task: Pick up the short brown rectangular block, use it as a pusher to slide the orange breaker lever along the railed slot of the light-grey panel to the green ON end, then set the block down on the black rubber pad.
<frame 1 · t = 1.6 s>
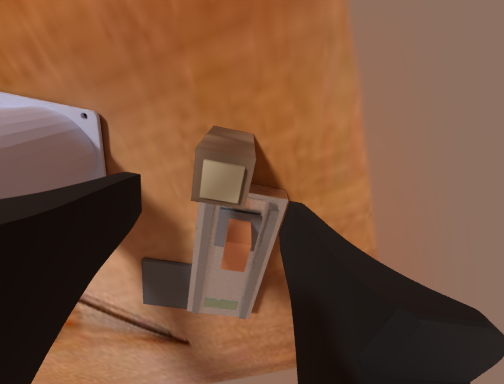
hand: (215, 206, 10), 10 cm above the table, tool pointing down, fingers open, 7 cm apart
brown rectangular block: (230, 149, 19), on the table
breaker lever: (236, 242, 19), point 4 cm above the table, slide at 0.0 cm
breaker panel: (231, 251, 25), on the table
rubber pad: (172, 284, 27), on the table
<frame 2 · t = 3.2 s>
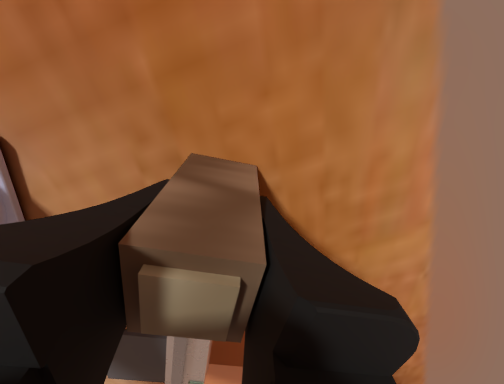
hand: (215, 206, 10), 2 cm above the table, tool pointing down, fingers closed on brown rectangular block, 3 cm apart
brown rectangular block: (220, 188, 12), on the table, touching gripper
breaker lever: (229, 339, 12), point 4 cm above the table, slide at 0.0 cm
breaker panel: (224, 319, 18), on the table
rubber pad: (145, 355, 20), on the table
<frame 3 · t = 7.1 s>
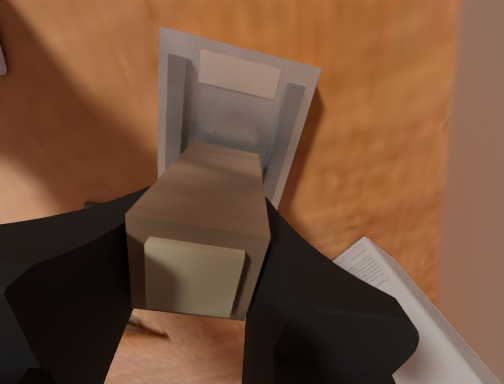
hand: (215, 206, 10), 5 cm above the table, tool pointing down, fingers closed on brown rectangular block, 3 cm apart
brown rectangular block: (222, 176, 12), point 3 cm above the table, touching breaker lever, gripper
skincare box: (351, 261, 20), on the table
breaker panel: (221, 191, 16), on the table
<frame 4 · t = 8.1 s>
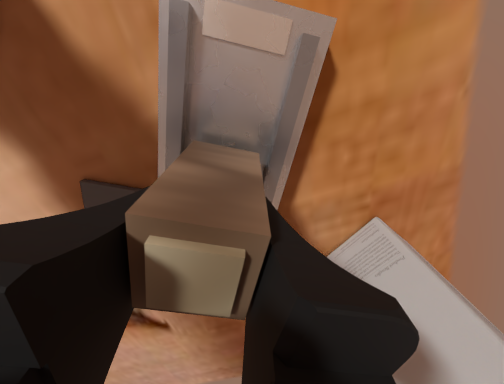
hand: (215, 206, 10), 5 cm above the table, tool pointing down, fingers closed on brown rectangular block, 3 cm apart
brown rectangular block: (222, 176, 12), point 3 cm above the table, touching breaker lever, gripper
skincare box: (361, 244, 19), on the table
breaker panel: (225, 166, 15), on the table
rubber pad: (135, 229, 18), on the table
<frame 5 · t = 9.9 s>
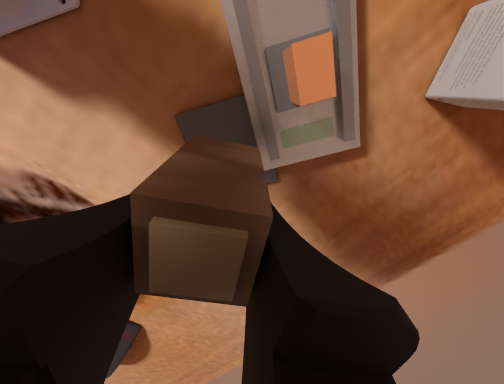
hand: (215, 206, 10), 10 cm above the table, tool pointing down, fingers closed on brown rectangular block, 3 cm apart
brown rectangular block: (223, 171, 12), point 7 cm above the table, touching gripper
computer mouse: (104, 334, 33), on the table
skincare box: (464, 59, 16), on the table
breaker lever: (306, 72, 13), point 4 cm above the table, slide at 7.6 cm
breaker panel: (287, 34, 15), on the table
rubber pad: (230, 149, 19), on the table
when the fingers open (3 cm above the table, at t = 11.4 s): brown rectangular block stays where it is, resting on breaker panel, rubber pad.
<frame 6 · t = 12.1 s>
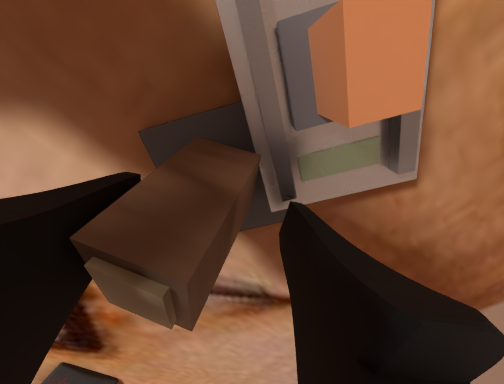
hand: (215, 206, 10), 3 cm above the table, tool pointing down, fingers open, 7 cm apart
brown rectangular block: (226, 173, 12), point 1 cm above the table, tilted 21°, touching breaker panel, rubber pad
breaker lever: (353, 64, 7), point 4 cm above the table, slide at 7.6 cm
breaker panel: (310, 5, 10), on the table
rubber pad: (222, 178, 13), on the table
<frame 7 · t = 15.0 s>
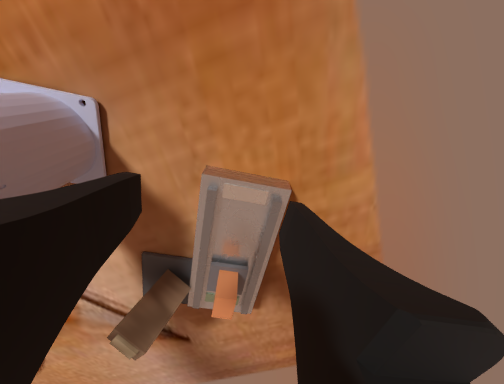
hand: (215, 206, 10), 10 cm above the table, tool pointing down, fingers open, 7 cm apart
brown rectangular block: (174, 284, 25), point 1 cm above the table, tilted 21°, touching breaker panel, rubber pad
breaker lever: (225, 291, 22), point 4 cm above the table, slide at 7.6 cm
breaker panel: (232, 244, 24), on the table
rubber pad: (172, 279, 27), on the table
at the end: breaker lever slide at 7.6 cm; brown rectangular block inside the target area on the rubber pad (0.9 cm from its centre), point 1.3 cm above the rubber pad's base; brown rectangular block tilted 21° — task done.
